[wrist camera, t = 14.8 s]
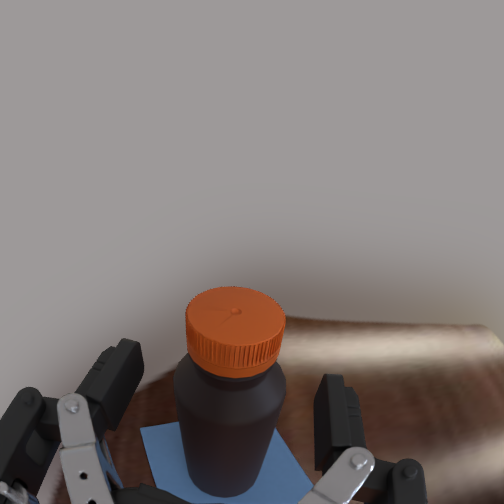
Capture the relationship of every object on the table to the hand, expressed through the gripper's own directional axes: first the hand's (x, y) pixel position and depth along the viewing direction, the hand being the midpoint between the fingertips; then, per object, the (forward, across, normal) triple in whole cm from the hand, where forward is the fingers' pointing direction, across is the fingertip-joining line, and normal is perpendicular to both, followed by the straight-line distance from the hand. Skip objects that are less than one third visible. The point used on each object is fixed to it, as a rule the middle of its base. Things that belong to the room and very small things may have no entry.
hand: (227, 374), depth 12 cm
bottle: (+3, 0, +19) cm, 19 cm away
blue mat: (+3, 0, +19) cm, 20 cm away
